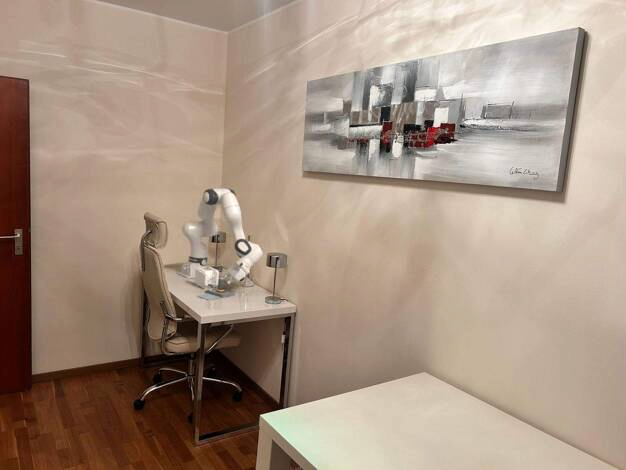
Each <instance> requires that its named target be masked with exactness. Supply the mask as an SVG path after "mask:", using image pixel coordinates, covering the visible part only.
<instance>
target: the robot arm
mask: <svg viewBox="0 0 626 470" xmlns="http://www.w3.org/2000/svg"><path fill="white" fill-rule="evenodd" d="M236 196H237V195H236V193H235V191H234V190H233V189H231V188H221V187H220V188H208V189H206V190H204V192H203V194H202V198H201V200H200V204H199V205H198V209H197V216H198V218H200V219H201V220H200V221H199V220H197V221H196V220H195V221H194V220H192V221H191V220H190V221H186V222H184V223H183V225H182V226H181V227H182V228H181V230H182V231H181V233H182V234H183V235H184V237H186V238H187V240H188V241H189V244H190V256H188V261H187V262H185V263H184V264H182V266H181V268H180V269H181V270H180V271H178V272H177V275H180V276H182V277H183V278H187V279H195V269H196V268H200V269H203V270H207V267H208V264H207V263H208V246H207V244H206V243H205V242H203V241H202V239H201V238H209V237H210V238H212V237H214V236H216V235H217V234H218V233H219V232H218V231H219V227H218V224H217V223H216V222H215V219H214V217H215V213H216V209H217V206H220V207H221V210H222V213H223V216H224V218H225V220H226V222H227V223H228V225H229V226H230V228H231V230H232V232H233V235H234V238H235V242H234V250H235V252H236V253H235V254H236V255H237V257H239V259H238V260H237V261H236V262H235V263H234V264H232V265H231V266H229V268H228V269H227V270H226V275H225V276H224V277H223V278H224V282H225V281H226V283H227V284H228V285H231V284H232V283H233V282H235V281H236V282H239V281H241V279H243V278H244V277H245V276H246V275H248V274H249V273H250V269H251V268H252V267H253V266H254V265H255V264H257V263H258V262H259V261H260V260H261V259H262V258H263V256H264V251H263V248H262V247H261V245H259V244H258V243H253V242H251V241H249V240H247V239H246V235H245V233H244V229H243V220H242V219H243V218H242V210H241V207H240V203H239V201H238V199H237V197H236ZM229 277H231V278H230V279H229Z"/></svg>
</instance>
